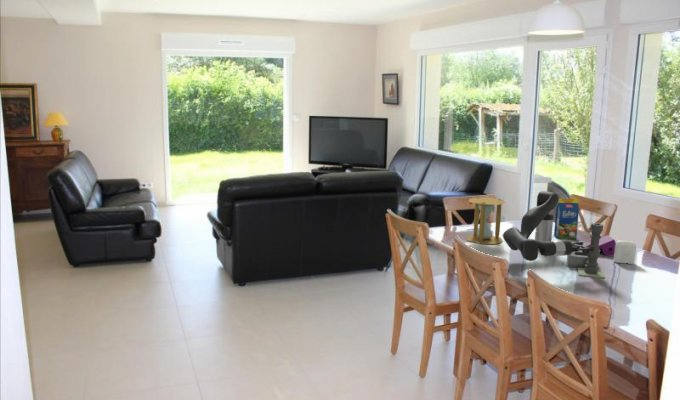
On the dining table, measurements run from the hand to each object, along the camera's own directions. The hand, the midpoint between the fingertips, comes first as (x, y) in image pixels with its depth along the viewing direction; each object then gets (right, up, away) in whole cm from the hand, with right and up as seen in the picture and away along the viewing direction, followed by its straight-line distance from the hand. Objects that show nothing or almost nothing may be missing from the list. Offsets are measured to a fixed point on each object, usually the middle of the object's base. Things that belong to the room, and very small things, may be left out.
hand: (588, 246), depth 292 cm
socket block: (+5, -11, +20) cm, 23 cm away
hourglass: (-35, -2, +68) cm, 77 cm away
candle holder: (+3, -14, +5) cm, 15 cm away
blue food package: (+18, -1, +78) cm, 80 cm away
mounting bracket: (+23, -8, +43) cm, 50 cm away
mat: (+3, -14, +5) cm, 15 cm away
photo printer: (+30, -11, +25) cm, 40 cm away
